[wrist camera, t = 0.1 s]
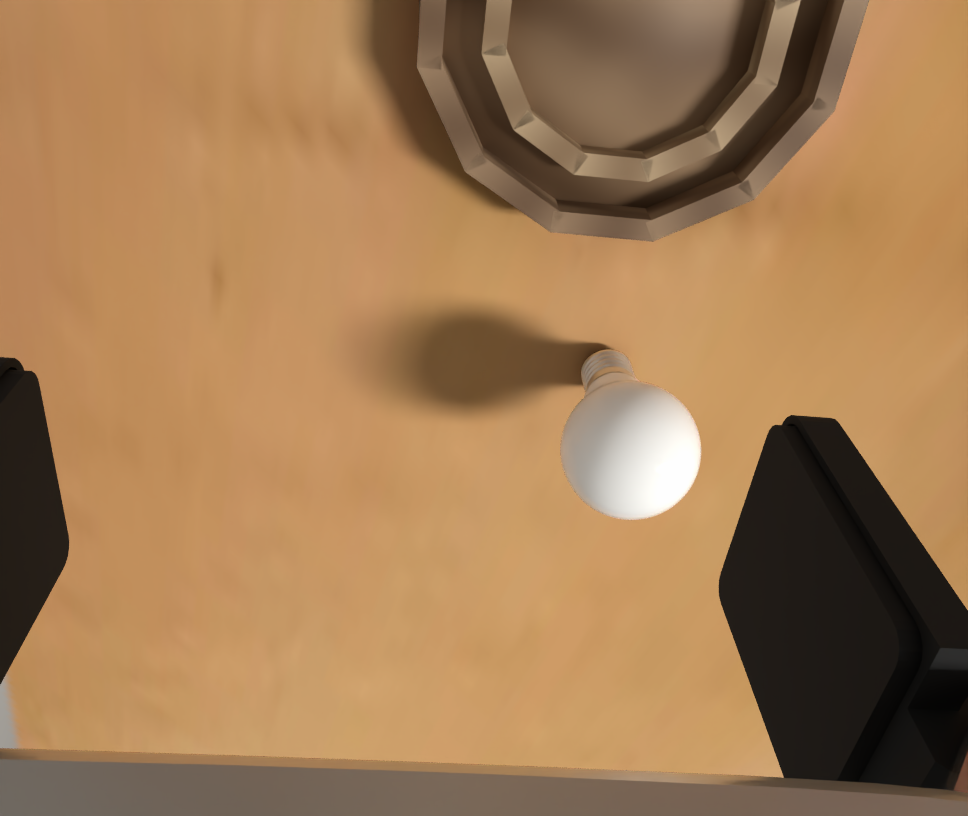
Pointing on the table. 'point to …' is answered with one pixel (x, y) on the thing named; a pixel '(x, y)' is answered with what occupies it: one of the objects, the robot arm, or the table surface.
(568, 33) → the tray
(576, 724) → the table surface
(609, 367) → the lightbulb
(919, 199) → the table surface
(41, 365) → the table surface
